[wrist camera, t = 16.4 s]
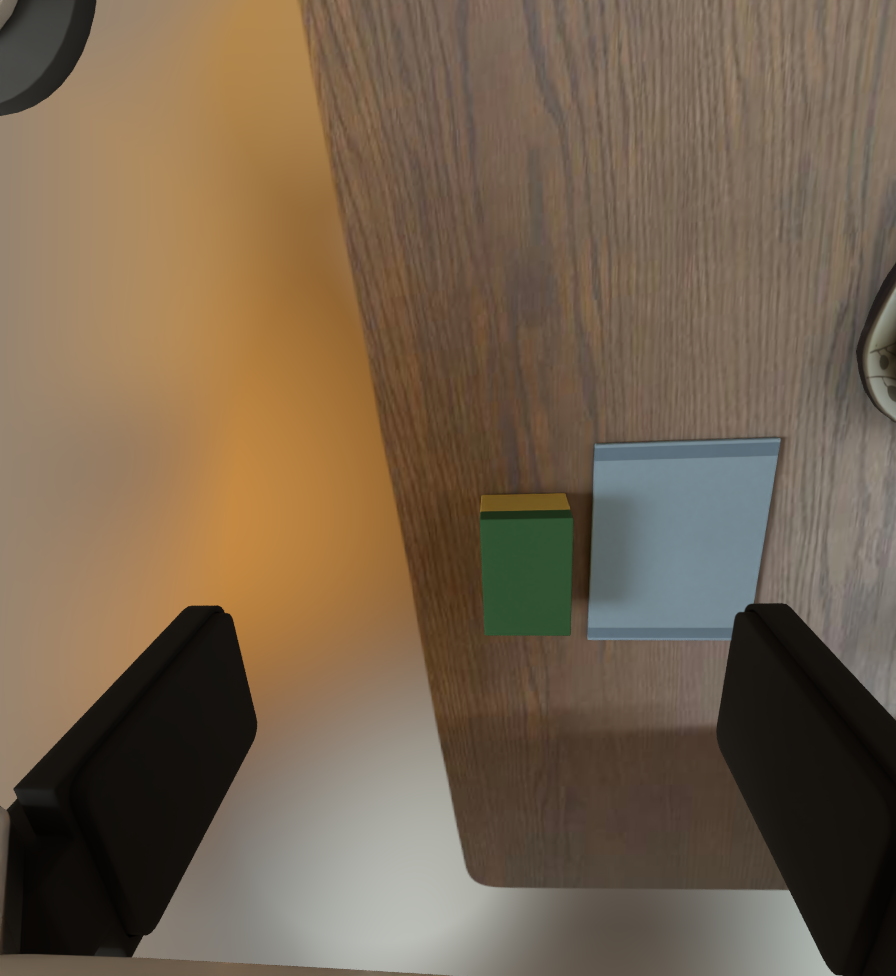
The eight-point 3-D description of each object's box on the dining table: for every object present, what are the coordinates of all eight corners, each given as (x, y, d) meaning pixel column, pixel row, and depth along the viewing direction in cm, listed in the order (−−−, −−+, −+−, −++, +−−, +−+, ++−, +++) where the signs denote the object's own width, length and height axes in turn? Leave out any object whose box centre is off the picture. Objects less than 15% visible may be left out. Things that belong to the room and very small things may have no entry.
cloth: (587, 636, 42) (587, 640, 41) (594, 443, 36) (595, 444, 36) (745, 637, 41) (747, 640, 40) (778, 437, 35) (781, 438, 35)
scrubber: (563, 600, 41) (570, 636, 37) (485, 600, 41) (484, 635, 37) (565, 492, 38) (573, 518, 34) (481, 494, 38) (479, 519, 34)
